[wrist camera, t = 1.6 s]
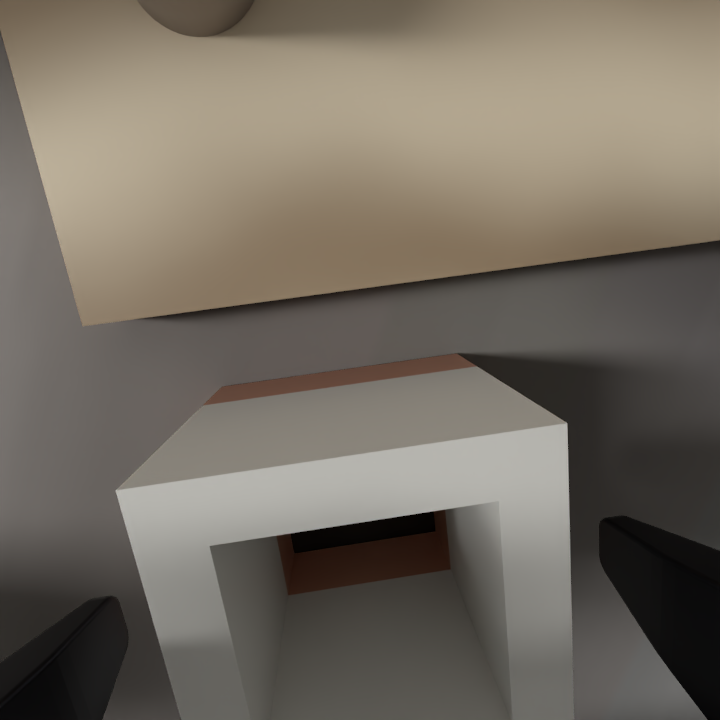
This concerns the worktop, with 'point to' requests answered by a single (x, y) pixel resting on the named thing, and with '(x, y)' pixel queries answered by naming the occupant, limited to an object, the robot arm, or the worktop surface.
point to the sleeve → (361, 549)
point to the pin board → (360, 140)
